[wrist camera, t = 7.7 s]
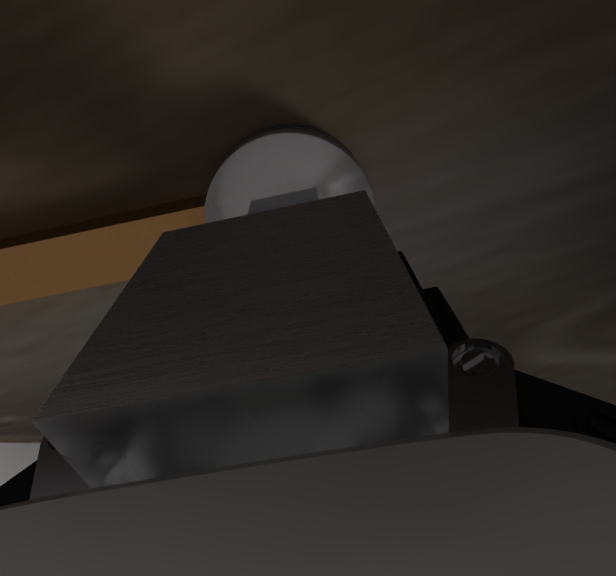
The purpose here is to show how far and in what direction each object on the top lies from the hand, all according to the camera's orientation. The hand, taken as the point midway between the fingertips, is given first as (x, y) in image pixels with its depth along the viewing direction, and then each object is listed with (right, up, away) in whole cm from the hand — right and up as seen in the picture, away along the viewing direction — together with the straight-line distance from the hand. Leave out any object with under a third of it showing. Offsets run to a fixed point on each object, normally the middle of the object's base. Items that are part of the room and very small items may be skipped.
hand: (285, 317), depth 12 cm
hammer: (-8, +4, +9) cm, 13 cm away
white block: (0, +1, +1) cm, 1 cm away
